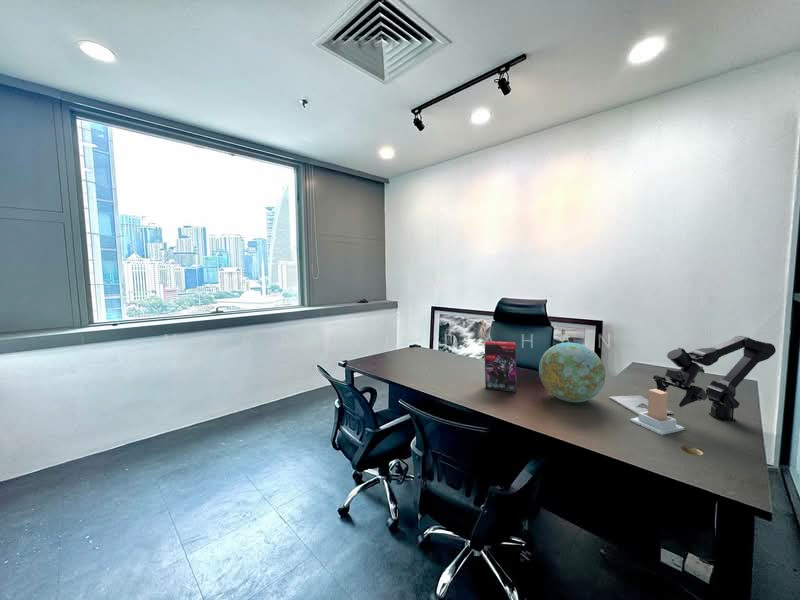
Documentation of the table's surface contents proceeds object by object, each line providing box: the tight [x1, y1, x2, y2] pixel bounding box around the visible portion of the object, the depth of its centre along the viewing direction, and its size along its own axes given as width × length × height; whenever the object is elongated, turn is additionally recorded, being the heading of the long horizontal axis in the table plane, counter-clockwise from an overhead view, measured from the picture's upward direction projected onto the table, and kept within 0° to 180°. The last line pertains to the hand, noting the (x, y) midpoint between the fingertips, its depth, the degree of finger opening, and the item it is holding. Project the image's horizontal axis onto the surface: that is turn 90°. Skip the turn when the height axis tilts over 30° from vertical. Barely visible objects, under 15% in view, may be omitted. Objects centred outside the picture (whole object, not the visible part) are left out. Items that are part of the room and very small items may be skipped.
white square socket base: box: [629, 411, 686, 436], centre depth 137 cm, size 13×13×4 cm
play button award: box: [608, 394, 674, 416], centre depth 157 cm, size 16×2×20 cm
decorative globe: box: [538, 341, 606, 403], centre depth 165 cm, size 30×30×30 cm
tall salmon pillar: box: [647, 388, 669, 421], centre depth 137 cm, size 4×5×14 cm
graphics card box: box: [484, 340, 517, 392], centre depth 183 cm, size 17×7×27 cm, turn 72°
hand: (667, 402), depth 138 cm, fingers open, 9 cm apart
